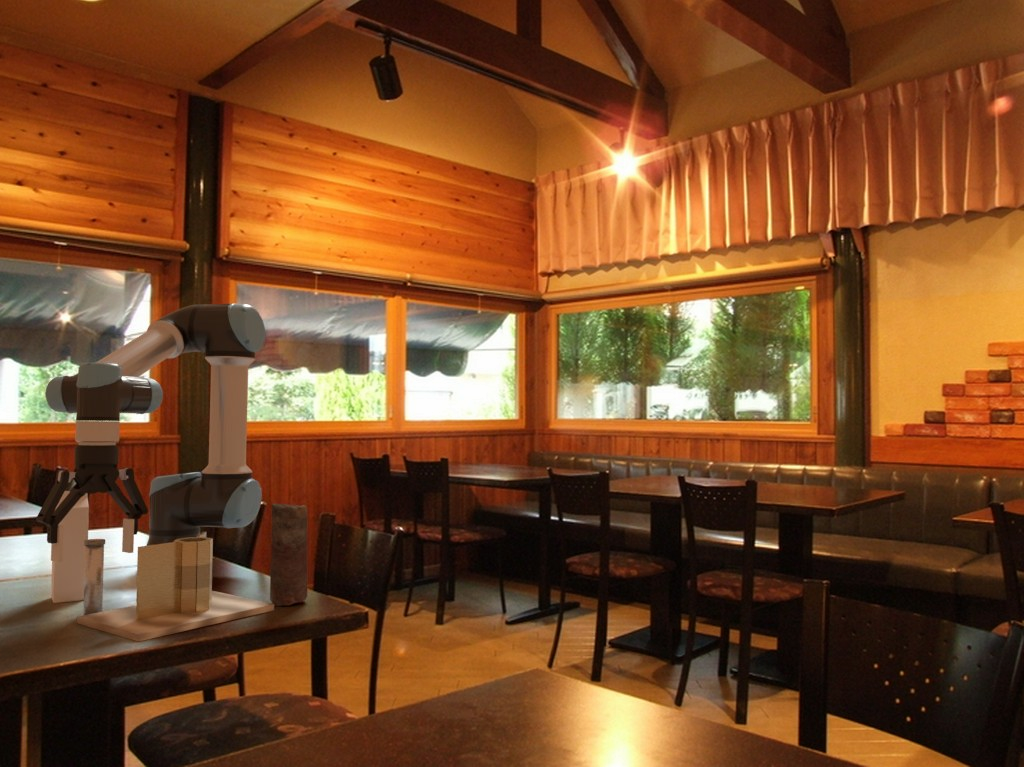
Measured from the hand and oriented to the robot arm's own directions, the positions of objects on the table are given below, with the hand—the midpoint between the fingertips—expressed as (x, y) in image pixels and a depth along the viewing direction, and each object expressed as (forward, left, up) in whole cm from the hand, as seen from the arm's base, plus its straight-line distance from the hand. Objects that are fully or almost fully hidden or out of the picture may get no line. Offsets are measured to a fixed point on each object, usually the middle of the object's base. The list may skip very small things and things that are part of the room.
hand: (93, 556), depth 159 cm
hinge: (-10, +13, -10) cm, 19 cm away
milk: (-4, -17, -11) cm, 21 cm away
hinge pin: (0, 0, -11) cm, 11 cm away
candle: (-29, +21, -11) cm, 38 cm away
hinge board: (-9, +14, -11) cm, 20 cm away
